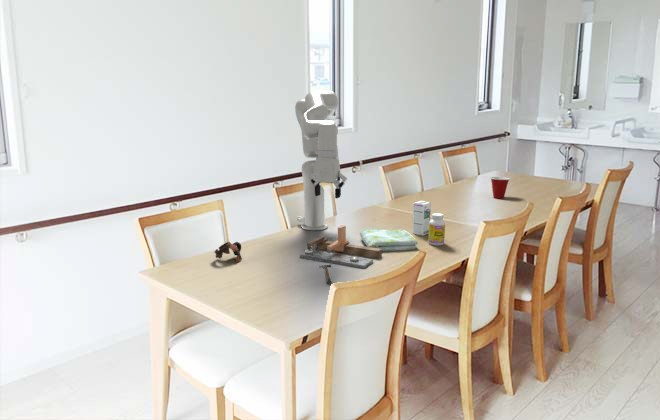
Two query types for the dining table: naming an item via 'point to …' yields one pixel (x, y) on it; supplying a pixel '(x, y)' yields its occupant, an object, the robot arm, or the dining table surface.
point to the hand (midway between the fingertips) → (327, 196)
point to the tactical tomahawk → (327, 273)
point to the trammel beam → (346, 248)
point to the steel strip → (336, 258)
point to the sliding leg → (339, 240)
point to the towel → (388, 239)
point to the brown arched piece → (225, 249)
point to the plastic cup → (499, 186)
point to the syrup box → (421, 217)
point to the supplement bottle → (436, 229)
